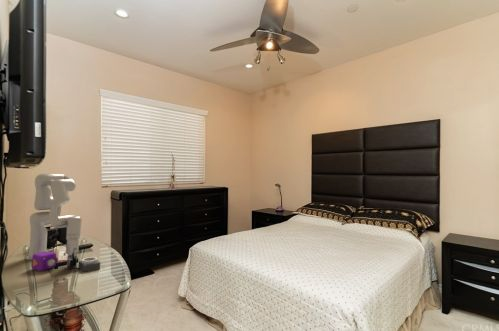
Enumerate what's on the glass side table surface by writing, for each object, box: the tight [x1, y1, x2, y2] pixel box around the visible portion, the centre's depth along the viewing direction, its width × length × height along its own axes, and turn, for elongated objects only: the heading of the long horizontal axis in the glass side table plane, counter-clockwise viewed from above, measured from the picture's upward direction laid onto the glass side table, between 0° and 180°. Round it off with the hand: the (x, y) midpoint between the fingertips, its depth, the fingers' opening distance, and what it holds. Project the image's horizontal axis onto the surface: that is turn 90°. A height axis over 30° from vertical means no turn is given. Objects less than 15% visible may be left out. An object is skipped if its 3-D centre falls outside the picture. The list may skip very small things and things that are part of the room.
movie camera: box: [44, 224, 67, 249], centre depth 216 cm, size 31×18×18 cm, turn 158°
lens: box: [66, 254, 78, 270], centre depth 168 cm, size 5×5×8 cm
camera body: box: [78, 256, 101, 273], centre depth 168 cm, size 12×9×6 cm
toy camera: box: [31, 250, 58, 272], centre depth 165 cm, size 11×14×10 cm
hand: (71, 264), depth 167 cm, fingers open, 6 cm apart
